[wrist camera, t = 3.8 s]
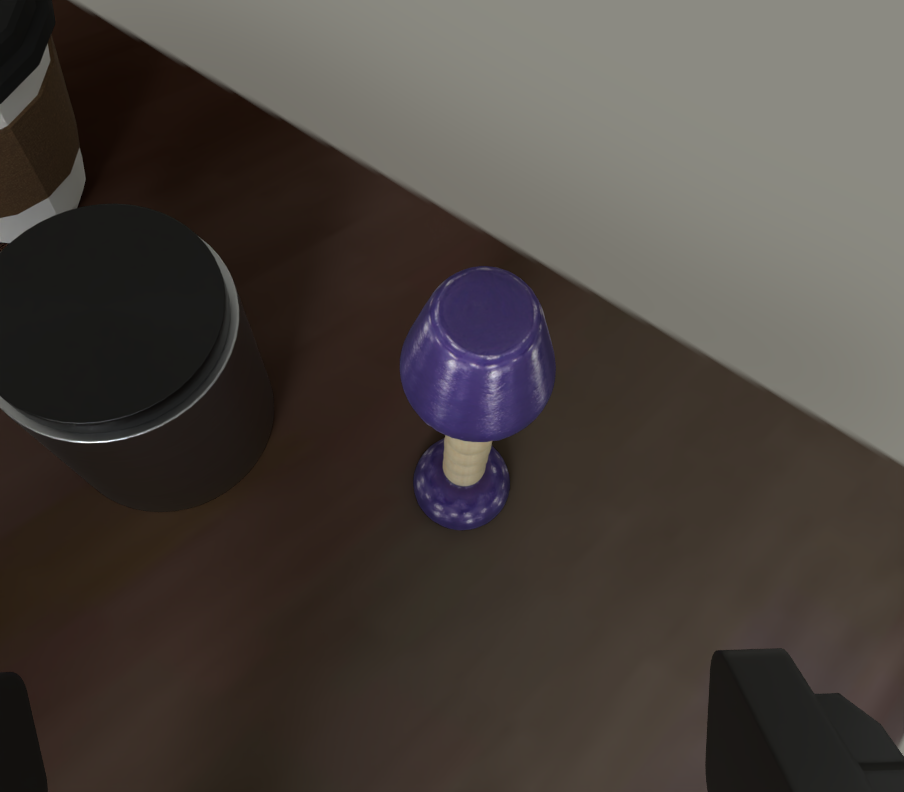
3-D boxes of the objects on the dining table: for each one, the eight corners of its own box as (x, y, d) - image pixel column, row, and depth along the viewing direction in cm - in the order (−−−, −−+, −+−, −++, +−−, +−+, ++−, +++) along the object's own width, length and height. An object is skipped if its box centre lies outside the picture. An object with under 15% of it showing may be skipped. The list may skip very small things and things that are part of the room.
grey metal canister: (24, 430, 37) (-101, 326, 28) (169, 290, 40) (100, 154, 31) (175, 554, 35) (96, 487, 26) (315, 398, 38) (288, 288, 29)
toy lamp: (479, 558, 36) (537, 421, 21) (382, 512, 37) (367, 343, 21) (524, 462, 38) (608, 269, 22) (430, 419, 38) (449, 201, 23)
